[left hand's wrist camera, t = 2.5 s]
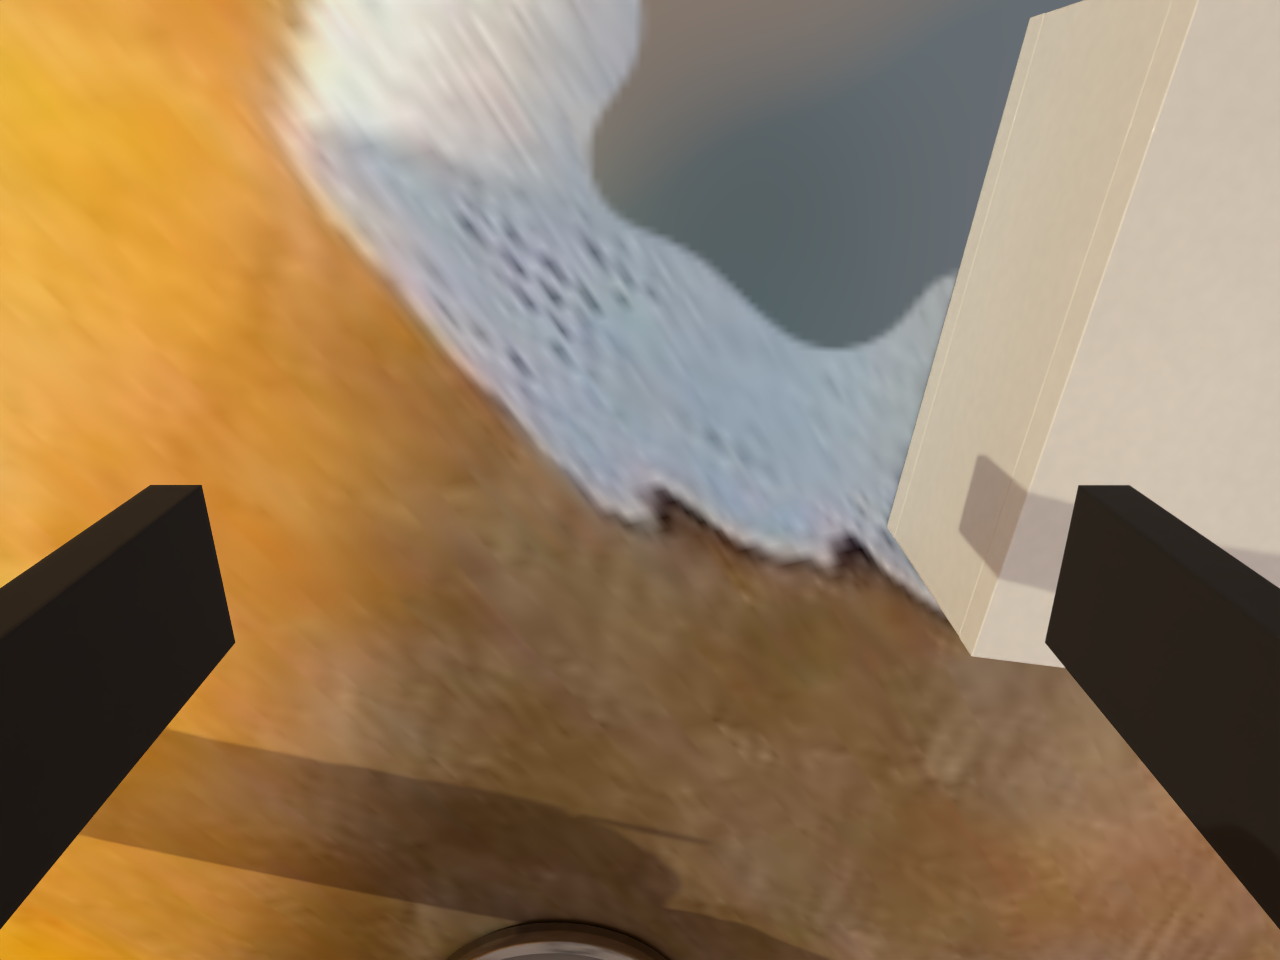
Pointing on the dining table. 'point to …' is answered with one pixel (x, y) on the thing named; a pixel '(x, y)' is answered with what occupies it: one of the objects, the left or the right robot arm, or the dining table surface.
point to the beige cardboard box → (1108, 311)
